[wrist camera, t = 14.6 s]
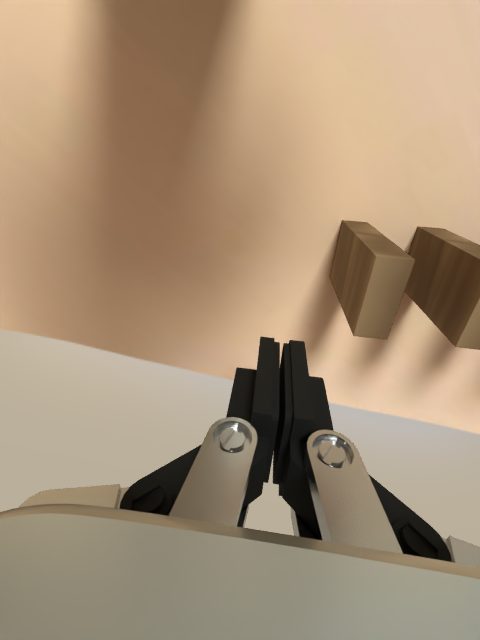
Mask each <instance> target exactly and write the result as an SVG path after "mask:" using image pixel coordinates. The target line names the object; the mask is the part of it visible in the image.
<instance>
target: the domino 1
mask: <svg viewBox="0 0 480 640" xmlns="http://www.w3.org/2000/svg"><path fill="white" fill-rule="evenodd" d="M414 262H415V259H414V258H412V257H411V256H410V255H408V254H407V253H406V252H405V251H403V250H402V249H401V248H399V247H398V246H397V245H396V244H394V243H393V242H392V241H390V240H389V239H388V238H386V237H385V236H384V235H383V234H381V233H380V232H379V231H377V230H376V229H375V228H374V227H372V226H371V225H370V224H368V223H367V222H356V221H344V220H342V224H341V228H340V233H339V237H338V242H337V246H336V251H335V256H334V260H333V265H332V269H331V274H330V280H331V282H332V285H333V287H334V289H335V292H336V294H337V297H338V299H339V302H340V304H341V307H342V309H343V311H344V314H345V316H346V319H347V321H348V324H349V326H350V329H351V331H352V333H353V336H359V337H368V338H377V339H387V338H388V335H389V333H390V330H391V327H392V324H393V321H394V318H395V316H396V313H397V310H398V307H399V304H400V302H401V299H402V296H403V293H404V290H405V287H406V285H407V282H408V279H409V276H410V273H411V270H412V268H413V265H414Z"/></svg>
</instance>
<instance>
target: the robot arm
mask: <svg viewBox="0 0 480 640" xmlns="http://www.w3.org/2000/svg"><path fill="white" fill-rule="evenodd" d="M273 450H274V458H273V483H274V484H279V496H282V497H283V499H284V500H285V501H286V502H287V503H288V504H289V505H290V506H291V519H292V525H293V530H294V536H292V535H285V534H279V533H273V532H267V531H260V530H254V529H248V528H244V525H245V521H246V517H247V513H248V508H249V504H250V503H251V502H252V501H254V500H255V499H256V498H257V497H259V496H260V495H261V494H262V489H263V482H266V483H268V480H269V474H270V468H271V462H272V456H273ZM0 640H480V547H478V546H476V545H473V544H470V543H467V542H465V541H462V540H459V539H457V538H454V537H452V536H449V537H448V538H447V539H445V538H442V537H441V536H440V535H439V534H438V533H437V532H436V531H435V530H434V529H433V528H432V527H431V526H430V525H429V524H428V523H426V522H425V521H424V520H423V519H422V518H420V517H419V516H418V515H417V514H416V513H415V512H413V511H412V510H411V509H410V508H409V507H407V506H406V505H405V504H404V503H402V502H401V501H400V500H399V499H397V498H396V497H395V496H394V495H393V494H392V493H390V492H389V491H388V490H387V489H386V488H384V487H383V486H382V485H381V484H380V483H378V482H377V481H376V480H375V479H374V478H372V477H371V476H370V475H369V474H368V472H367V470H366V468H365V466H364V463H363V461H362V459H361V457H360V454H359V452H358V450H357V448H356V447H355V445H354V443H352V442H351V441H350V440H349V439H348V438H347V437H345V436H344V435H342V434H341V433H338V432H335V431H333V426H332V420H331V416H330V410H329V405H328V400H327V395H326V390H325V385H324V381H323V378H319V377H311V376H309V373H308V365H307V358H306V350H305V343H304V342H303V341H294V340H290V341H289V344H287V343H284V345H283V351H282V357H281V364H280V343H279V342H274V338H267V337H260V346H259V355H258V364H257V370H254V369H246V368H237V369H236V374H235V379H234V384H233V388H232V393H231V398H230V403H229V408H228V412H227V417H226V418H223V419H220V420H218V421H217V422H215V423H214V424H213V425H212V426H211V428H210V429H209V431H208V433H207V435H206V437H205V439H204V442H203V443H202V445H200V446H198V447H196V448H195V449H193V450H191V451H190V452H188V453H186V454H184V455H182V456H181V457H179V458H177V459H175V460H173V461H172V462H170V463H168V464H167V465H165V466H163V467H161V468H159V469H158V470H156V471H154V472H152V473H151V474H149V475H147V476H145V477H143V478H142V479H140V480H138V481H137V482H136V483H134V484H133V485H132V486H130V487H127V488H120V484H116V485H103V486H91V487H78V488H64V489H53V490H46V491H42V492H39V493H37V494H35V495H33V496H31V497H29V498H28V499H27V500H26V501H25V502H24V503H22V504H21V505H20V506H19V507H18V508H15V509H11V510H7V511H3V512H0Z"/></svg>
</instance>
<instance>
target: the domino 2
mask: <svg viewBox="0 0 480 640" xmlns="http://www.w3.org/2000/svg"><path fill="white" fill-rule="evenodd" d="M408 255H410V256H411V257H412V258H414V259H415V262H414V265H413V268H412V270H411V273H410V276H409V279H408V282H407V285H406V287H405V290H404V291H405V292H406V293H407V294H408V295H409V297H410V298H411V299H412V300H413V301H414V302H415V303H416V304H417V305H418V306H419V308H420V309H421V310H422V311H423V312H424V313H425V314H426V315H427V316H428V317H429V318H430V320H431V321H432V322H433V323H434V324H435V325H436V326H437V327H438V328H439V329H440V331H441V332H442V333H443V334H444V335H445V336H446V337H447V338H448V339H449V340H450V341H451V343H452V344H453V345H454V346H455V347H460V348H469V349H478V350H480V245H478V244H476V243H474V242H472V241H469V240H467V239H465V238H463V237H461V236H458V235H456V234H454V233H452V232H450V231H447V230H445V229H440V228H428V227H417V230H416V233H415V236H414V239H413V242H412V245H411V248H410V251H409V254H408Z"/></svg>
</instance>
